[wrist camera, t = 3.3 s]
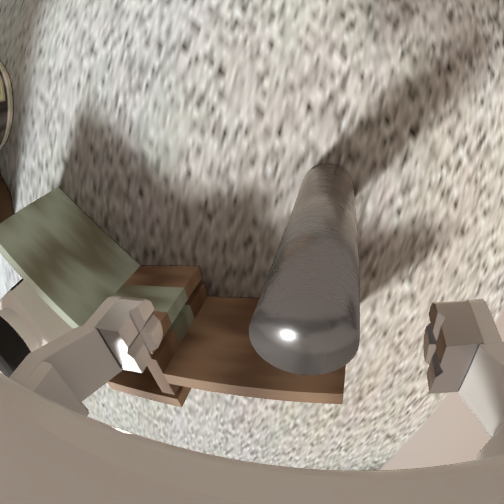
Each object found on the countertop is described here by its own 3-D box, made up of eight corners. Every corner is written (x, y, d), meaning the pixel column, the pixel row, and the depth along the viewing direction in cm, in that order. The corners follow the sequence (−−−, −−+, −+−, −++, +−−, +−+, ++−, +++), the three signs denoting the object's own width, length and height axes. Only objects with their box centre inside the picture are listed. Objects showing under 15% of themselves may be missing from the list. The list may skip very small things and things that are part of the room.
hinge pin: (360, 202, 18) (371, 364, 8) (315, 218, 19) (277, 381, 10) (341, 156, 17) (338, 283, 7) (294, 174, 18) (229, 311, 8)
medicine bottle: (55, 250, 28) (-27, 325, 18) (96, 305, 30) (27, 389, 20) (33, 271, 31) (-35, 335, 21) (68, 318, 33) (9, 387, 24)
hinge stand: (107, 318, 31) (64, 372, 24) (53, 188, 24) (-15, 231, 17) (347, 338, 24) (339, 427, 17) (344, 147, 17) (346, 199, 10)
